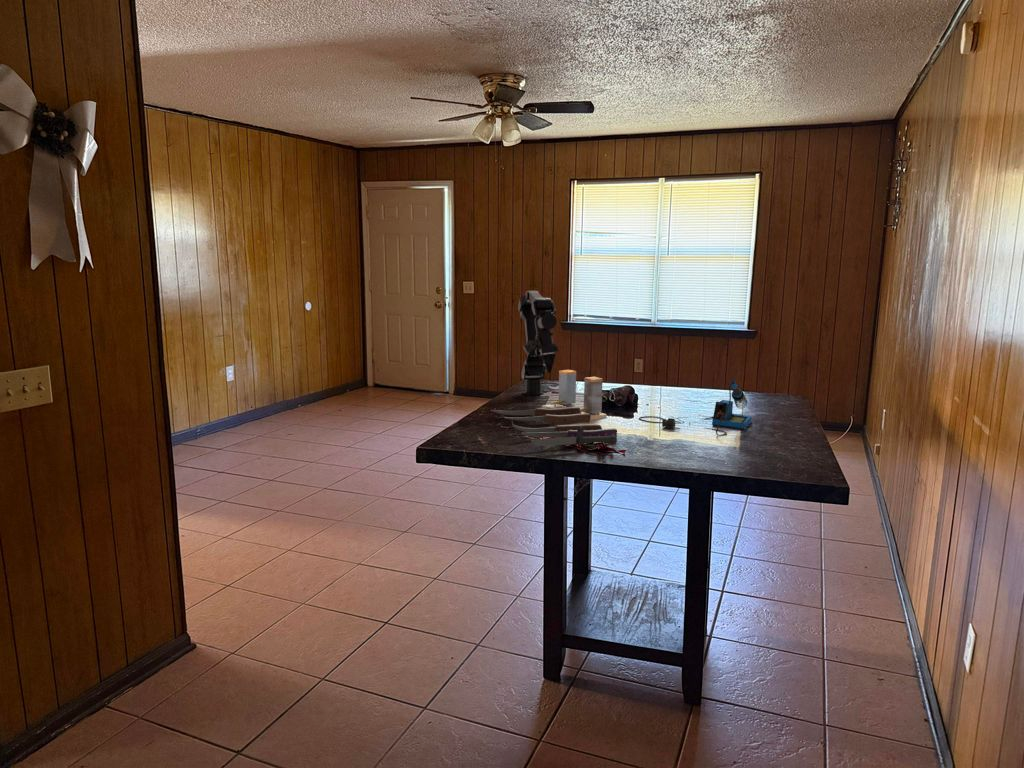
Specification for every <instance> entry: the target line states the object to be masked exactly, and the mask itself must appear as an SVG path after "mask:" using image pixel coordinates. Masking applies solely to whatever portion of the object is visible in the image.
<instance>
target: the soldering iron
mask: <svg viewBox="0 0 1024 768" xmlns="http://www.w3.org/2000/svg"><path fill="white" fill-rule="evenodd" d="M729 382H730V384H729V386H728V389H729V390H728V392H729V400H727V399H721V400H720V401H715V405H714V410H713V416H711V417H707V416H704V415H702V418H700V421H702V422H703V418H704V420H711V419H712V421H711V426H713V427H716V429H715V428H709V427H708V428H707V427H705V428H706V429H707V430H711V429H712V430H711V431H715V434H716V436H718V435H719V433H718V432H721V435H723V436H726V435H727V434H728V432H727V431H724V430H721V429H719V428H720V427H721V428H727V427H728V429H735V428H736V429H737V430H742V429H745V428H746V427H747V426H748V427H749V425H751V423H752V415H745V414H743V412H744V409H745V408H746V407H747V405H748V400H747V398H746V396H745V393H744V391H743V390H742V389H740V388H739V386H738V385H737V383H736V381H735V380H734V379H732V380H731V381H729ZM731 389H732V391H731ZM732 399H733V400H732ZM734 405H735V406H736V407H737V409H741V410H742V411H741V414H738V413H733V407H734ZM698 416H699V417H701V414H698ZM645 418H653V419H654V418H655V419H661V420H662V422H661V421H651V420H646V419H645ZM679 418H680V419H679ZM682 418H684V419H687V418H688V417H684V416H683V417H682V416H680V417H677V419H675V418H670V417H669V418H668V419H666V418H663V417H660V416H655V415H654V416H653V415H652V416H651V415H649V416H648V415H645V416H640V417H638V420H640V421H642V422H647V423H652V424H653V423H654V424H661V428H664V427H665V428H666V429H667V430H681V427H676V425H679V424H680V425H681V424H684V423H685V421H683V420H682ZM691 423H692V421H690V422H689V423H688V425H689V426H691ZM693 423H696V424H697V422H694V421H693ZM700 424H702V425H704V423H701V422H700ZM706 424H708V422H706V421H705V425H706ZM748 427H747V428H748ZM747 428H746V429H747ZM746 429H745V430H746Z"/></svg>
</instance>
